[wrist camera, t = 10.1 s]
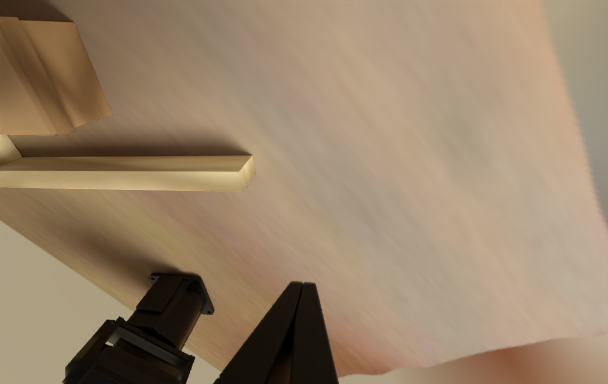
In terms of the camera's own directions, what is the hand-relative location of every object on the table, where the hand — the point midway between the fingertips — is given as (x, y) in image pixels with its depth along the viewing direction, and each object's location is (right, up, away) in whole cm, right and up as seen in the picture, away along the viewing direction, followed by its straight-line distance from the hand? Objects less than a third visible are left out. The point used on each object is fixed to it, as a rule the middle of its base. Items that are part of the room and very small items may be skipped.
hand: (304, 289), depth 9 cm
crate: (-18, +12, +10) cm, 24 cm away
